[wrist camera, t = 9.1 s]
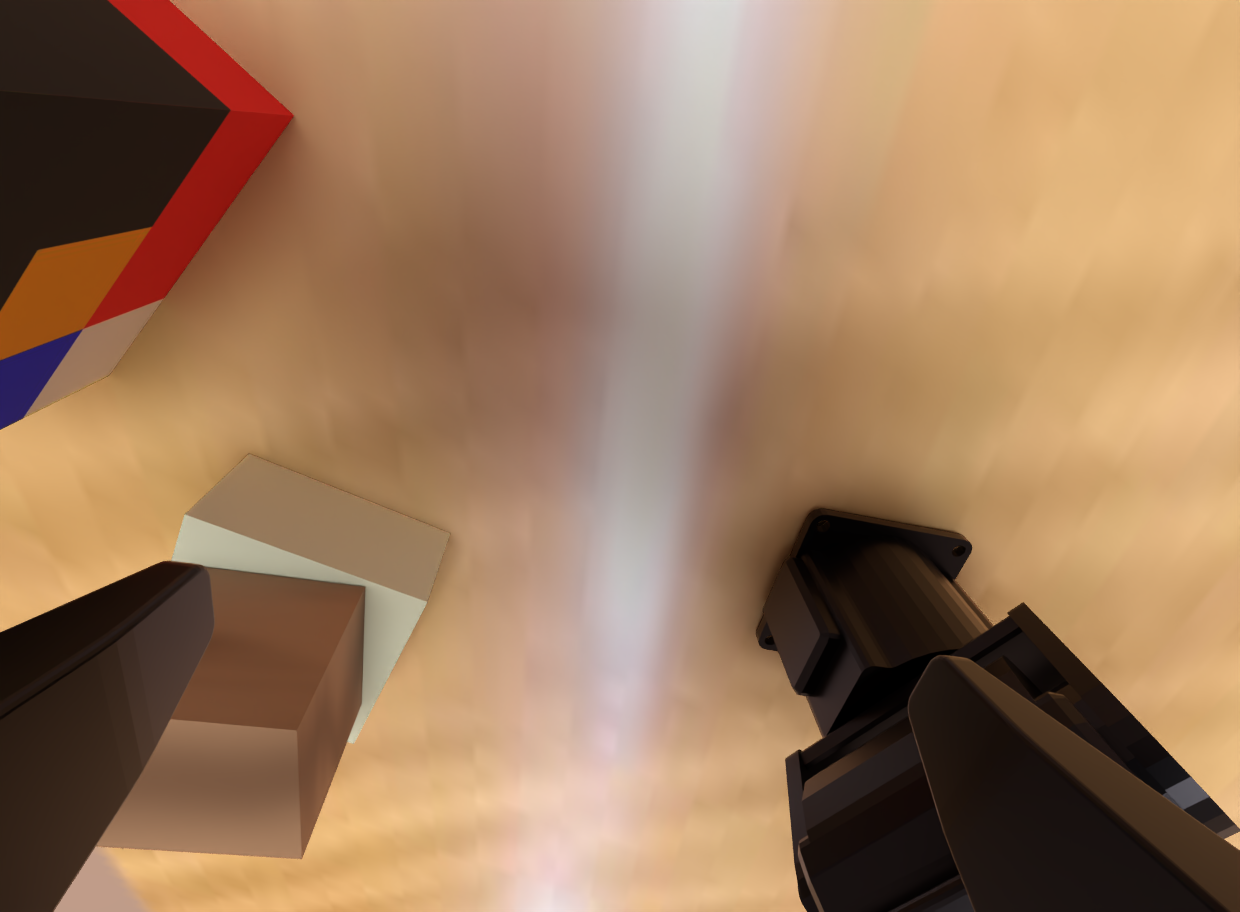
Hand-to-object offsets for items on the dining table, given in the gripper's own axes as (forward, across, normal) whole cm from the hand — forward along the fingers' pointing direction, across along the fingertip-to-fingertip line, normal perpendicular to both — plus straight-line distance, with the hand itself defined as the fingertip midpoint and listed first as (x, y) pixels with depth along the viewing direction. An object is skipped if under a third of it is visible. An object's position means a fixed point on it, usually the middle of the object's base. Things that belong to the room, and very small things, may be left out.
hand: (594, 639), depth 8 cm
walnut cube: (+9, +8, +10) cm, 16 cm away
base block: (+13, +8, +10) cm, 19 cm away
